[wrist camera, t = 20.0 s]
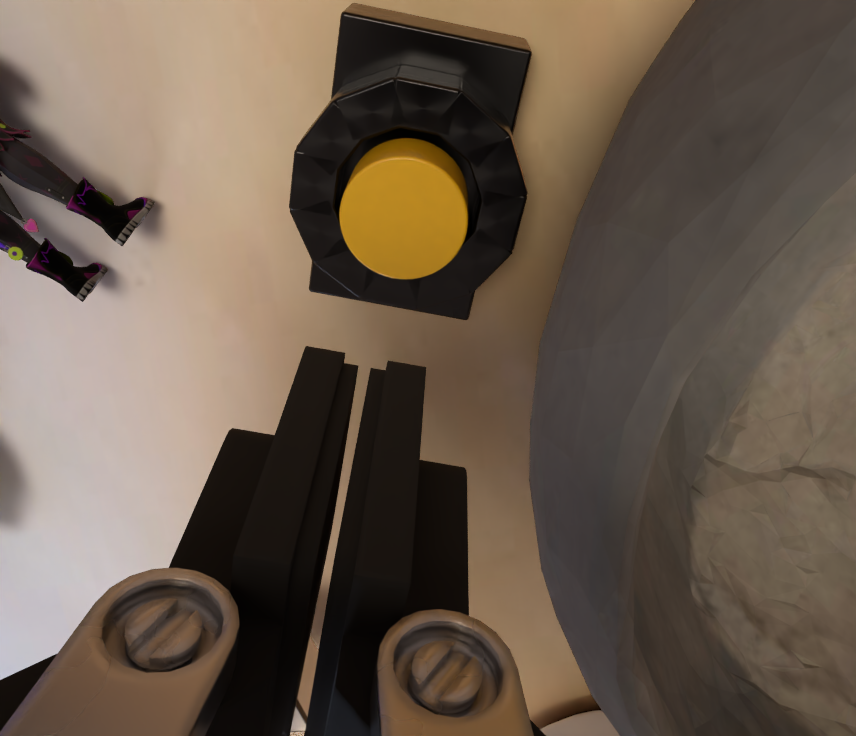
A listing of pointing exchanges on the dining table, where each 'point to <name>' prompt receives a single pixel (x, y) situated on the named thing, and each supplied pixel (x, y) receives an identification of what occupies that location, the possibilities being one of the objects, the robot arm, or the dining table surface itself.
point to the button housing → (425, 120)
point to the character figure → (80, 198)
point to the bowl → (712, 387)
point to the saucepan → (582, 725)
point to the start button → (405, 209)
